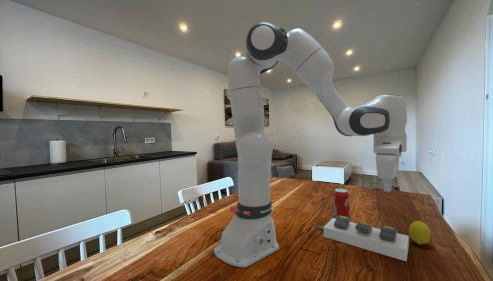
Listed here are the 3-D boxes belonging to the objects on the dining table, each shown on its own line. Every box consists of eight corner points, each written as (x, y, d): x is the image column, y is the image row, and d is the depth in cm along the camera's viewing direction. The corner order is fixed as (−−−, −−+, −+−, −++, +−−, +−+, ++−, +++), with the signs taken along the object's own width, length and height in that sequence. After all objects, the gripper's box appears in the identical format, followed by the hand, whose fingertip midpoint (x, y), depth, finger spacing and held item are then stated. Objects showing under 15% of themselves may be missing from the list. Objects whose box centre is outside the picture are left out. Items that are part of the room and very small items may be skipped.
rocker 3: (394, 242, 65) (394, 237, 65) (379, 238, 68) (379, 233, 67) (396, 232, 70) (396, 227, 69) (382, 228, 72) (382, 223, 72)
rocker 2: (368, 233, 69) (368, 227, 70) (355, 229, 72) (355, 224, 72) (372, 229, 74) (372, 224, 74) (359, 226, 77) (359, 221, 77)
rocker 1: (346, 230, 74) (345, 225, 74) (334, 226, 77) (333, 222, 76) (350, 221, 79) (350, 216, 78) (339, 218, 81) (338, 214, 81)
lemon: (404, 240, 73) (405, 217, 73) (421, 240, 73) (421, 217, 73) (417, 249, 68) (417, 224, 67) (435, 249, 67) (435, 224, 67)
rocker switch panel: (406, 261, 62) (406, 249, 62) (312, 233, 80) (312, 224, 80) (408, 246, 69) (408, 235, 69) (322, 223, 87) (322, 215, 87)
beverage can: (351, 220, 90) (350, 192, 89) (335, 219, 91) (334, 192, 90) (347, 214, 96) (346, 188, 95) (332, 214, 97) (331, 188, 96)
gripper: (382, 143, 79) (382, 180, 79) (372, 147, 63) (372, 194, 64) (404, 143, 75) (403, 182, 75) (398, 148, 59) (398, 198, 60)
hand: (389, 188), depth 69 cm, fingers open, 7 cm apart
